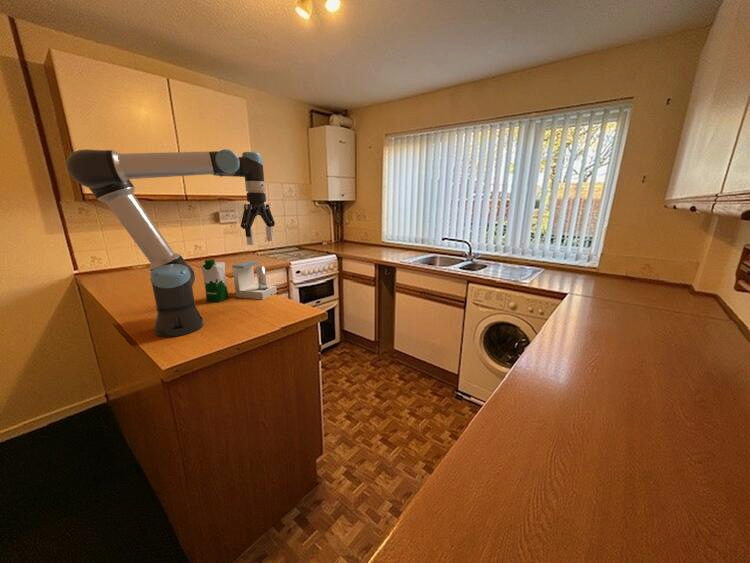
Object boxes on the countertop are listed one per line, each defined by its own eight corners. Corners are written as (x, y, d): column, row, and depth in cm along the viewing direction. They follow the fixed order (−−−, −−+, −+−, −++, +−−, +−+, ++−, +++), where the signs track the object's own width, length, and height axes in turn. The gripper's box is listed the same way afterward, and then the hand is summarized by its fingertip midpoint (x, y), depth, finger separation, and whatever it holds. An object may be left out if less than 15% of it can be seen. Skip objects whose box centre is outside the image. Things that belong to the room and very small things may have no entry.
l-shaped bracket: (262, 299, 145) (259, 266, 141) (236, 296, 149) (232, 265, 145) (276, 292, 156) (274, 262, 152) (251, 290, 160) (248, 261, 156)
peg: (257, 296, 150) (254, 267, 147) (262, 293, 154) (259, 265, 150) (264, 296, 149) (261, 267, 146) (269, 294, 153) (266, 266, 149)
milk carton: (203, 302, 141) (197, 260, 136) (215, 296, 150) (209, 257, 145) (221, 302, 140) (215, 261, 135) (231, 297, 149) (226, 257, 144)
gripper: (243, 190, 112) (249, 246, 117) (280, 193, 135) (283, 239, 140) (226, 191, 114) (233, 246, 119) (266, 193, 137) (270, 239, 142)
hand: (260, 242), depth 130 cm, fingers open, 13 cm apart
